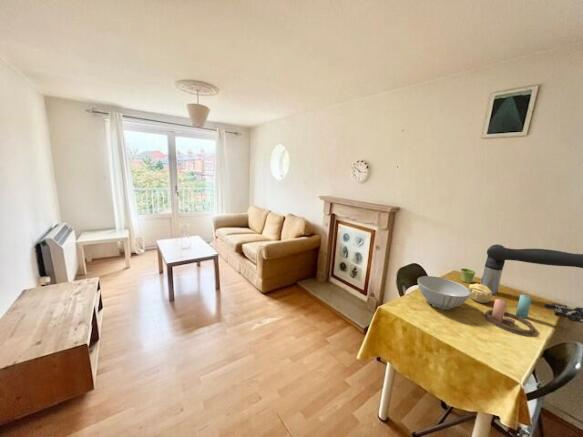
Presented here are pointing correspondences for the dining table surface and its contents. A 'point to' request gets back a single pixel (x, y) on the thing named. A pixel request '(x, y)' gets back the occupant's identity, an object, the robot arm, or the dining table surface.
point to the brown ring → (511, 323)
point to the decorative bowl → (443, 292)
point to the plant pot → (467, 275)
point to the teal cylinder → (523, 306)
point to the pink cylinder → (499, 310)
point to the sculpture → (480, 293)
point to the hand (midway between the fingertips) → (549, 309)
